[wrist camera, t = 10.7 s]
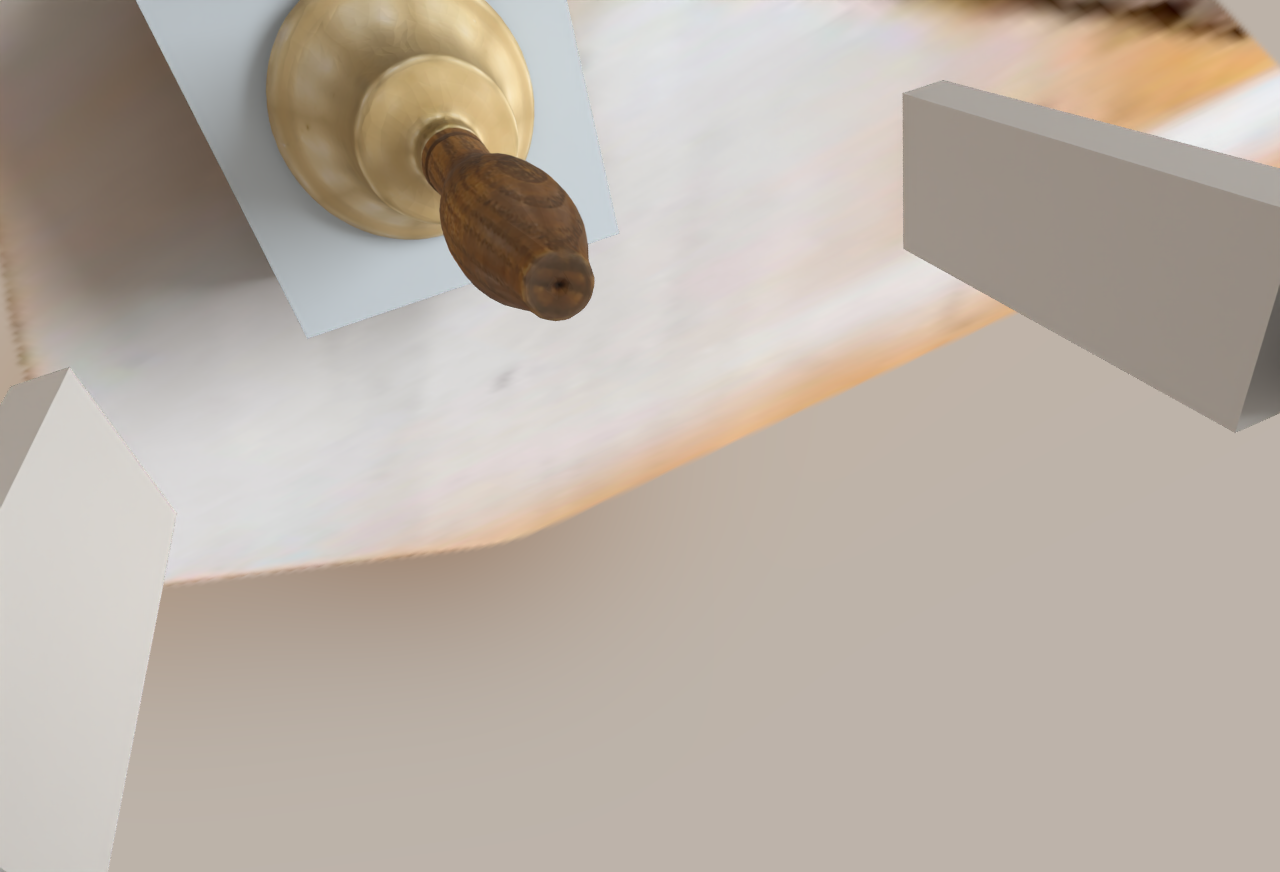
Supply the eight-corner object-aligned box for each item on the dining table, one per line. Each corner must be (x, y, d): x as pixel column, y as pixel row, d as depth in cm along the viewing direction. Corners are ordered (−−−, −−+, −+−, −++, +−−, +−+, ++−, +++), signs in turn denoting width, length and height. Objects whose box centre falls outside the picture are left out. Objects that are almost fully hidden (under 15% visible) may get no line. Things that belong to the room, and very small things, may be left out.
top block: (138, -49, 25) (114, -43, 22) (502, -139, 27) (533, -147, 24) (305, 292, 32) (307, 338, 29) (585, 200, 35) (619, 233, 31)
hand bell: (570, 171, 29) (818, 348, 17) (360, 279, 28) (454, 556, 16) (463, -88, 24) (702, -114, 12) (203, 34, 23) (155, 149, 11)
